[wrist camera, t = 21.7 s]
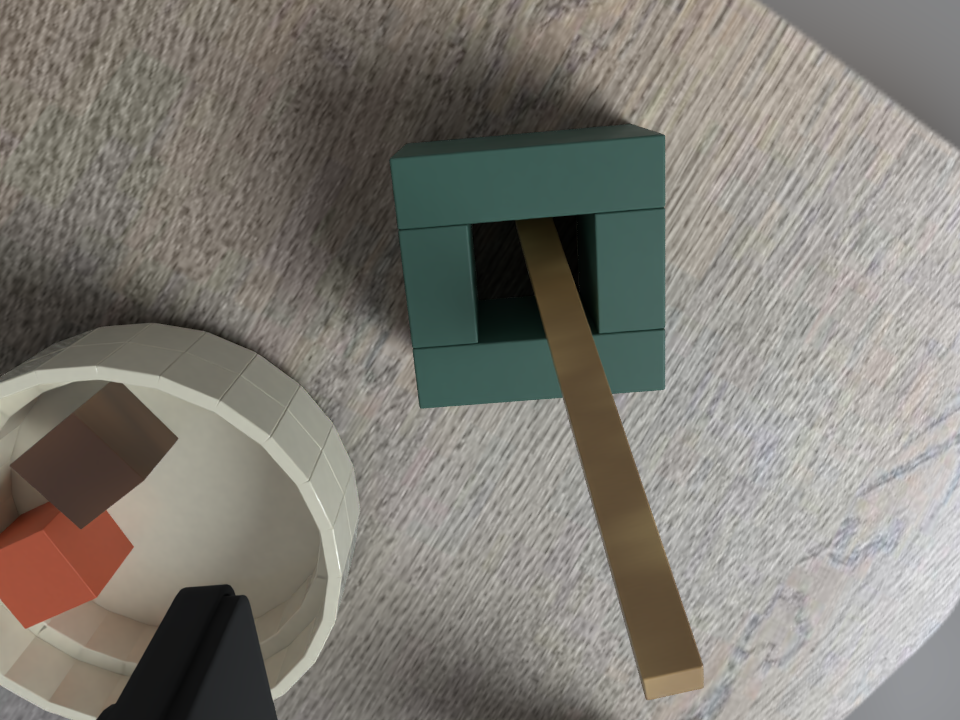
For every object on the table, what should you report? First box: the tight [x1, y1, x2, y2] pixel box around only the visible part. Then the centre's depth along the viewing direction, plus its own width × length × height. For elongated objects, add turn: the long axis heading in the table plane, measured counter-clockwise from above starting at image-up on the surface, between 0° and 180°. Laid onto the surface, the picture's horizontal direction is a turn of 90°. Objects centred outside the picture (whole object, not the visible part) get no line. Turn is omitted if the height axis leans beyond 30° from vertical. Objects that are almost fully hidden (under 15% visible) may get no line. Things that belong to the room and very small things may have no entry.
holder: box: [389, 124, 665, 408], centre depth 31 cm, size 10×10×6 cm
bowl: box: [0, 323, 360, 720], centre depth 35 cm, size 18×18×6 cm
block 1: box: [10, 381, 179, 529], centre depth 34 cm, size 4×4×4 cm
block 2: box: [0, 502, 134, 629], centre depth 36 cm, size 4×4×4 cm
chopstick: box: [514, 217, 704, 700], centre depth 26 cm, size 2×2×20 cm
